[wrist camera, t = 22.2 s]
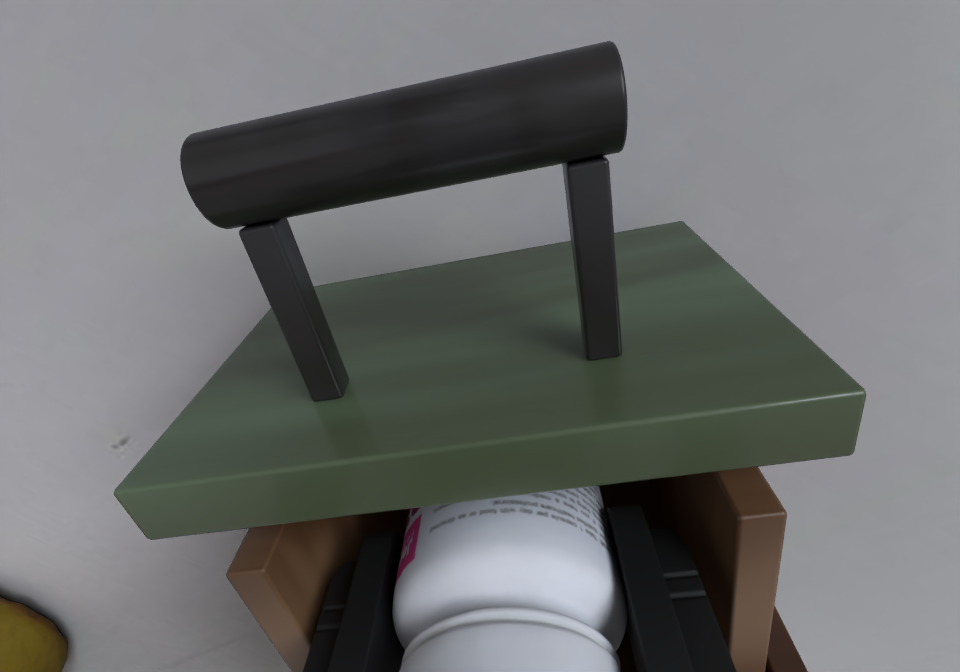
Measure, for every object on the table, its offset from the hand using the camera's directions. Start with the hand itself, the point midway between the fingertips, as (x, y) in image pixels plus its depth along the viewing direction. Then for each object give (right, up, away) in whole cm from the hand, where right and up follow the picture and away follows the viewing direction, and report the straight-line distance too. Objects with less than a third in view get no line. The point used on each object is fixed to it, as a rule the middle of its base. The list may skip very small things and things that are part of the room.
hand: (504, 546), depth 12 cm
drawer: (0, +3, +5) cm, 6 cm away
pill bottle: (0, +2, +4) cm, 5 cm away
